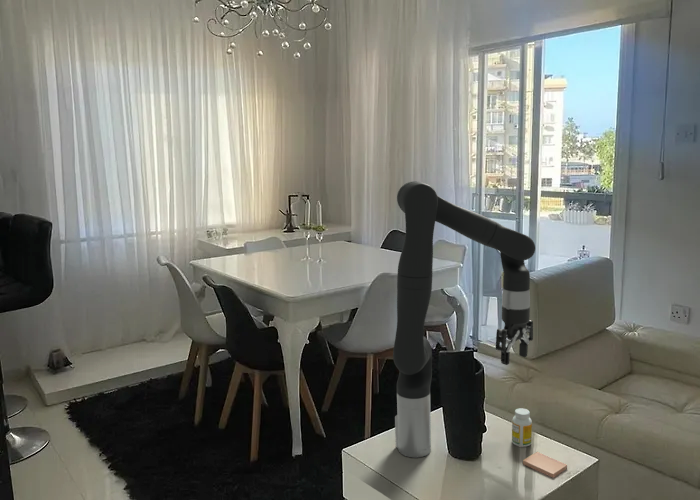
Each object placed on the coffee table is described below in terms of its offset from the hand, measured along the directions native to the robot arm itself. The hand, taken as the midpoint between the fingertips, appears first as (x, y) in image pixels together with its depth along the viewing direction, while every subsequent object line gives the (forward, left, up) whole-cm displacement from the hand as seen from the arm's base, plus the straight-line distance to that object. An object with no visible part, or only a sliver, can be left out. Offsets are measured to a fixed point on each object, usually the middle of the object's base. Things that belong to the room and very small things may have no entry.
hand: (514, 360), depth 163 cm
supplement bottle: (+3, 0, -24) cm, 24 cm away
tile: (+10, -6, -23) cm, 26 cm away
